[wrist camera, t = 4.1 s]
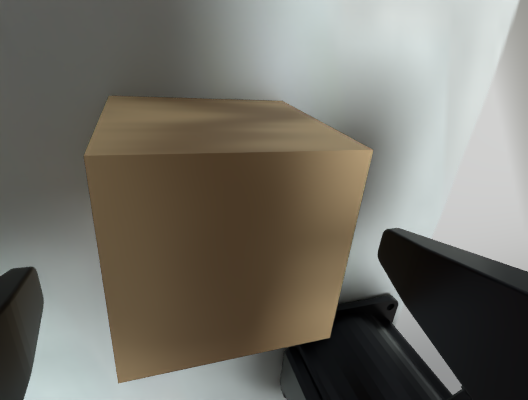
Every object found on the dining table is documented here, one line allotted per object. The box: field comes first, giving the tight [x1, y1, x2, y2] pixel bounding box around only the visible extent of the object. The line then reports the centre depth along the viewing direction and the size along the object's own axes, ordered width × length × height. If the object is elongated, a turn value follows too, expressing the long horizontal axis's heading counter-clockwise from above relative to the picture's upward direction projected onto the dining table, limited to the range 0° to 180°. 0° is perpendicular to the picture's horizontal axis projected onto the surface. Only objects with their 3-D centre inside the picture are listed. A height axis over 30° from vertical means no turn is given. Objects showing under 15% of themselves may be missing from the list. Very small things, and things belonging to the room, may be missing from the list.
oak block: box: [84, 96, 373, 383], centre depth 11 cm, size 6×6×6 cm
